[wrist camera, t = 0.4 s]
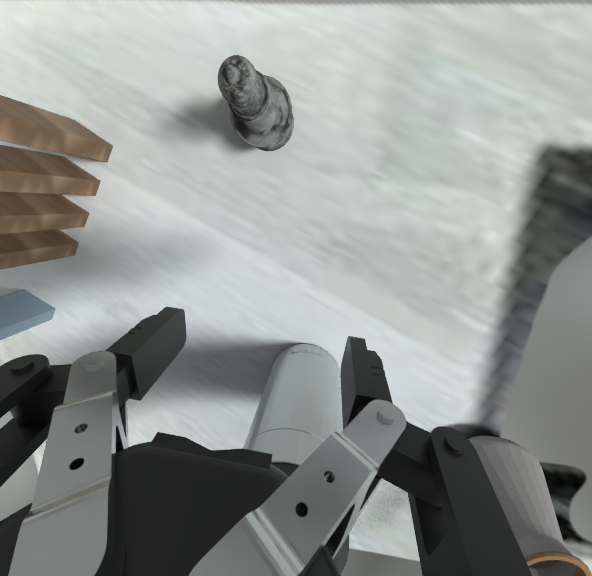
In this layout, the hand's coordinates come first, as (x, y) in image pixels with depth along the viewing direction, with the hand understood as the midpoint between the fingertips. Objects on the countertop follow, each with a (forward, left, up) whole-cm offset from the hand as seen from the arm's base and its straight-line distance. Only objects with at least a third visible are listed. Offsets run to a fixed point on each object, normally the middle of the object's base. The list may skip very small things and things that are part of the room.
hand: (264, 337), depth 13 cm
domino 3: (+4, +30, -20) cm, 36 cm away
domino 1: (+12, +26, -20) cm, 35 cm away
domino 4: (0, +32, -20) cm, 38 cm away
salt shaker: (+14, +5, -20) cm, 25 cm away
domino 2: (+8, +28, -20) cm, 35 cm away
